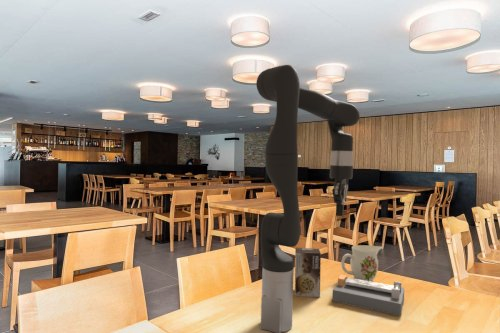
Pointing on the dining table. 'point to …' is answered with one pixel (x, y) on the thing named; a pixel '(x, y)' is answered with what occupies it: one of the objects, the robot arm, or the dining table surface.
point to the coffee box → (307, 272)
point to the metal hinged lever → (371, 285)
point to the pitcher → (363, 262)
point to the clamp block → (371, 298)
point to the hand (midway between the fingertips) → (339, 215)
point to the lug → (342, 280)
